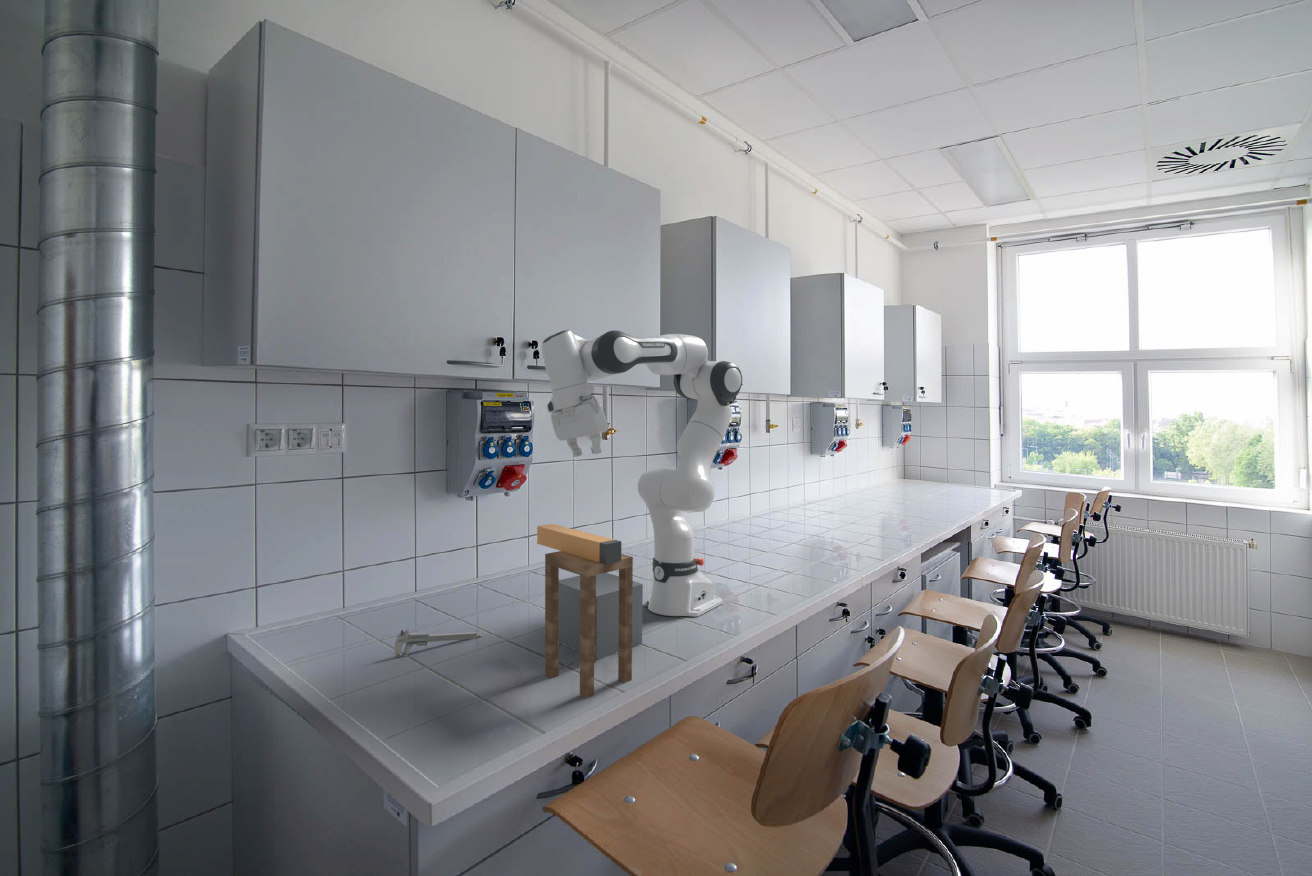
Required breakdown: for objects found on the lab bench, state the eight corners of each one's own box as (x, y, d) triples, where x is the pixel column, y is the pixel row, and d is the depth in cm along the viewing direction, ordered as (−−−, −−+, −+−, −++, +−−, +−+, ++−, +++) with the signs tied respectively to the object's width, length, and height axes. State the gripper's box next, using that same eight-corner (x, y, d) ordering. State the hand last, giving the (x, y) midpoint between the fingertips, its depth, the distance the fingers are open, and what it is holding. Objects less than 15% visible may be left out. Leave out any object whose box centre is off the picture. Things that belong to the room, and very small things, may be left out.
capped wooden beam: (552, 541, 144) (552, 523, 144) (621, 561, 127) (621, 541, 127) (537, 543, 141) (537, 526, 141) (605, 564, 124) (605, 544, 124)
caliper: (397, 659, 142) (396, 632, 141) (395, 658, 143) (395, 630, 142) (481, 637, 155) (481, 612, 155) (479, 636, 156) (479, 611, 156)
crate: (599, 626, 163) (600, 570, 162) (642, 643, 152) (642, 584, 151) (554, 640, 153) (555, 581, 153) (596, 659, 142) (596, 596, 141)
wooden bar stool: (590, 659, 142) (590, 545, 140) (631, 679, 132) (632, 556, 130) (545, 675, 134) (545, 553, 132) (586, 698, 124) (586, 567, 122)
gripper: (605, 390, 144) (620, 448, 145) (565, 401, 161) (578, 454, 162) (582, 395, 141) (597, 455, 142) (543, 407, 158) (557, 460, 159)
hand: (587, 454), depth 152 cm, fingers open, 8 cm apart
